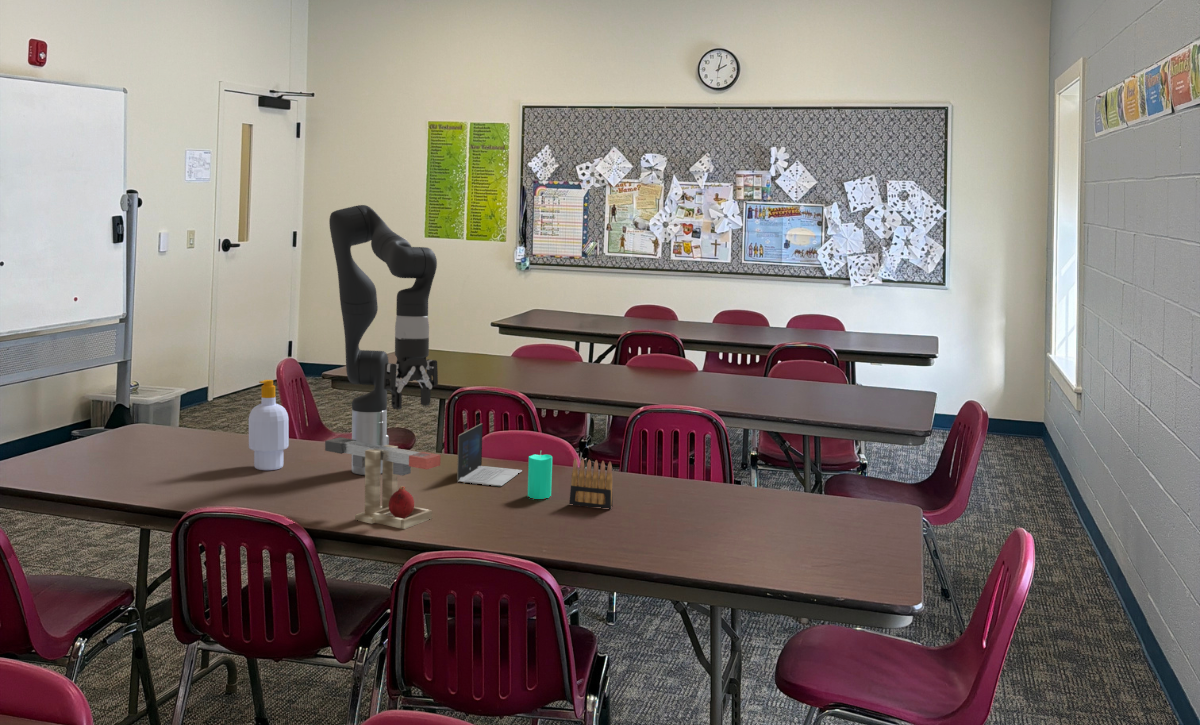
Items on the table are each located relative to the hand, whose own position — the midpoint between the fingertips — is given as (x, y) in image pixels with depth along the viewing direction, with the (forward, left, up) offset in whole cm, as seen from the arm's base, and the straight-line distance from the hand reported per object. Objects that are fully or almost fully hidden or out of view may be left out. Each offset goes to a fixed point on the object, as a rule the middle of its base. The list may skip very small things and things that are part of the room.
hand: (411, 407), depth 228 cm
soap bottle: (-16, -62, -27) cm, 69 cm away
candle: (-35, +13, -27) cm, 46 cm away
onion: (+1, -2, -27) cm, 27 cm away
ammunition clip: (-35, +28, -27) cm, 52 cm away
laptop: (-44, -8, -27) cm, 52 cm away
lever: (+1, -8, -16) cm, 17 cm away
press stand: (+1, -3, -27) cm, 27 cm away
